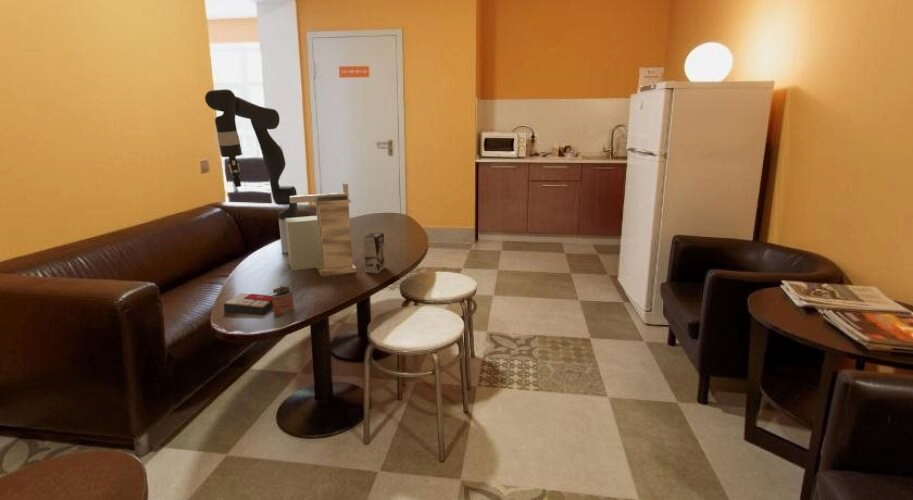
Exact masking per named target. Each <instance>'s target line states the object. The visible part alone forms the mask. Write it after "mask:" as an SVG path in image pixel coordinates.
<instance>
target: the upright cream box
mask: <svg viewBox="0 0 913 500" xmlns="http://www.w3.org/2000/svg"><path fill="white" fill-rule="evenodd" d="M285 225H286V235H287V245H288V253H287V254H288V262H289V263H288V265H289V267H290V269H291V271H292V272H293V271H300V270H301V269H302V270H309V268H310V269H317V265H321V261H320V249H319V236H318V224H317V215H309V216H298V217H295V218H285ZM302 270H301V271H302Z"/></svg>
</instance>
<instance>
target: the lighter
mask: <svg viewBox="0 0 913 500" xmlns="http://www.w3.org/2000/svg"><path fill="white" fill-rule="evenodd" d="M272 292H273V294H272V295H270V296H271V297H272V301H273V309H272V310H273V315H272V316H273V318H274V319H275V318H276V319H279V318H282V317H285V316H287V315H290V314H292V313H294V312H295V310H296V308H295V304H294V295H293V294H294V291H293V289H290V285H288V284H287V285H285V286H284V285H280V287H277V288H273V290H272Z"/></svg>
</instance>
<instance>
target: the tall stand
mask: <svg viewBox="0 0 913 500" xmlns="http://www.w3.org/2000/svg"><path fill="white" fill-rule="evenodd" d="M313 203H315V209H316V211H315V212H316V216H317V224H318V236H319V249H320V261H321V265H317V268H316V269H317V271H318V273H319V274H320V276H321V277H322V276H323V277H329V276H330V275H331V276H336V275H346V274H351V273H357V267H356V266H355V264H354V263H353V252H352V239H351V238H352V237H351V236H352V235H351V222H350V221H351V220H350V207H349V206H350V205H349V203H352V200H351V199H347V196H337V197H323V198H318V201H315V202H313Z"/></svg>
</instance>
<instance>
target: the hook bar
mask: <svg viewBox="0 0 913 500" xmlns="http://www.w3.org/2000/svg"><path fill="white" fill-rule="evenodd" d="M342 189H343V191H342V192H332V193H317V194H303V195H297V196H289V197H290V203H297V204H301V203H314V202H315V201H318V198H323V197H337V196H347V199H349V198H350V197H349V184H348V182H342Z"/></svg>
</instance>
